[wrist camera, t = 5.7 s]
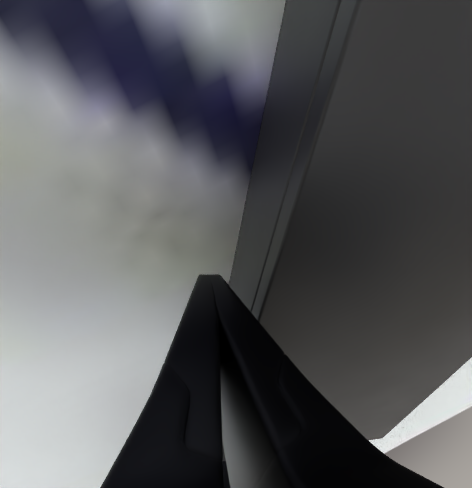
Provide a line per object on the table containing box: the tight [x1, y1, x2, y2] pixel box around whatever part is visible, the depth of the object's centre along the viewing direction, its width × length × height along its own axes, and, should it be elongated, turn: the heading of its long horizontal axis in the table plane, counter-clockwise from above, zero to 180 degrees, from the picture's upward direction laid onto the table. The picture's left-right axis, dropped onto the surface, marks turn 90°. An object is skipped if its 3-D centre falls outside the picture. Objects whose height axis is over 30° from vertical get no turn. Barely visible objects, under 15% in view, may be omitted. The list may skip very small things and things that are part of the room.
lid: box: [222, 0, 472, 461], centre depth 10 cm, size 20×10×4 cm, turn 171°
